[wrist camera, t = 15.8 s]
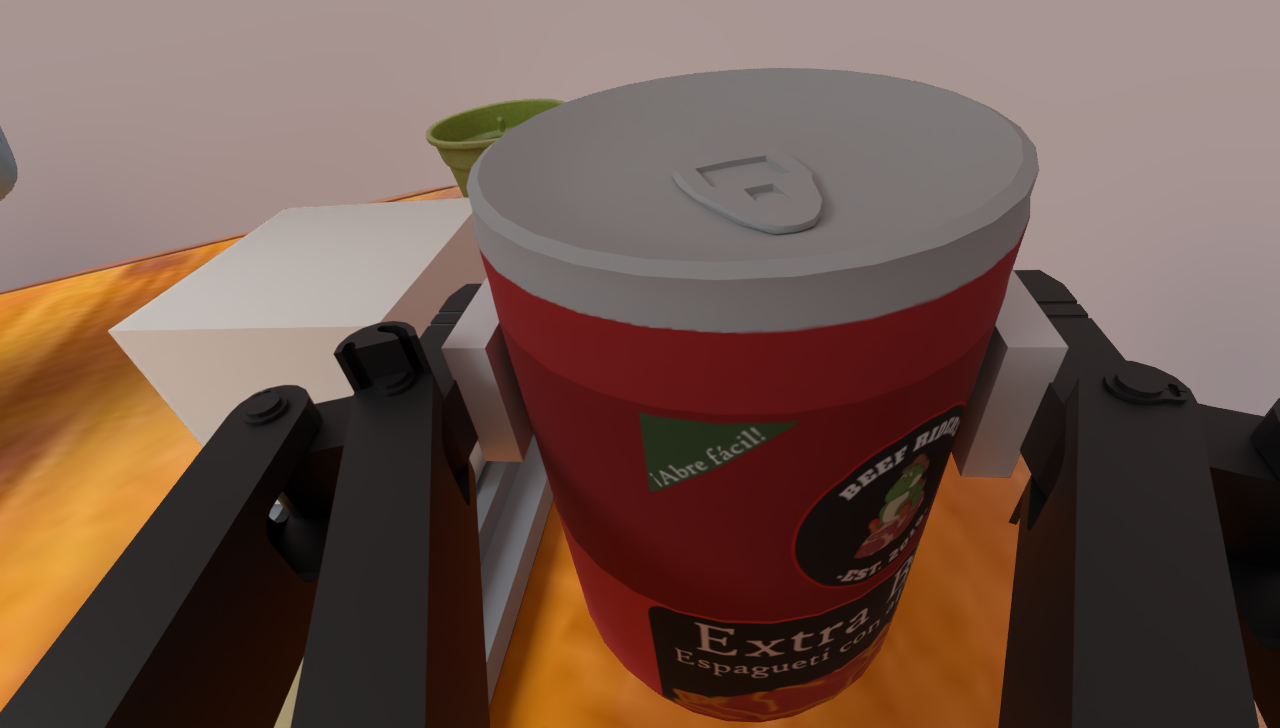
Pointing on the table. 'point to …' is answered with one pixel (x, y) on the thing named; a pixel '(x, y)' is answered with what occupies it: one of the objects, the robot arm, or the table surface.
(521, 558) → the board
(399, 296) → the block
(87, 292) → the table surface
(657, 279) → the canned food
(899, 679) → the table surface
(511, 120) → the plant pot
